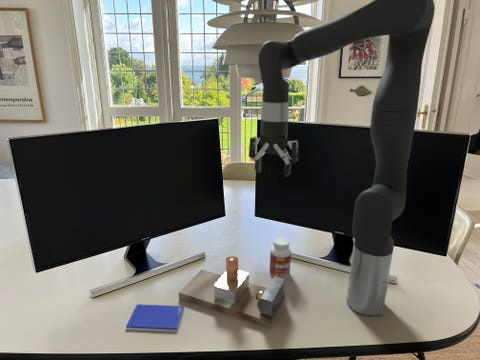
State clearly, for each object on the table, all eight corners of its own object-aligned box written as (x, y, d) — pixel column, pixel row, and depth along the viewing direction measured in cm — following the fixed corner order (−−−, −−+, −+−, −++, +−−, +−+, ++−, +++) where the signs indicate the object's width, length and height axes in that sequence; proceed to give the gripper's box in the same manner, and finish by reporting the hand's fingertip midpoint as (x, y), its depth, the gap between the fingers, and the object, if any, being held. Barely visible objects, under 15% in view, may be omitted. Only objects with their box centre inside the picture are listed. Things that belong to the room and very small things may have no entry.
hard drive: (184, 305, 88) (137, 303, 89) (177, 328, 80) (125, 326, 81) (184, 310, 89) (137, 308, 89) (177, 333, 81) (126, 331, 81)
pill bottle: (273, 281, 100) (275, 247, 97) (266, 269, 106) (267, 237, 102) (293, 277, 102) (295, 244, 98) (284, 266, 108) (286, 235, 104)
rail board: (284, 299, 92) (285, 292, 92) (269, 328, 82) (270, 321, 81) (201, 275, 102) (201, 269, 102) (179, 298, 92) (178, 292, 91)
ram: (248, 285, 94) (249, 253, 91) (235, 304, 86) (235, 271, 83) (229, 279, 97) (229, 248, 93) (214, 298, 89) (213, 265, 86)
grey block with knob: (283, 295, 91) (284, 279, 89) (271, 318, 82) (272, 301, 81) (262, 289, 93) (263, 273, 92) (248, 311, 85) (249, 294, 83)
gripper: (303, 118, 95) (299, 173, 100) (255, 115, 101) (254, 167, 106) (296, 122, 89) (292, 181, 94) (245, 118, 94) (244, 174, 99)
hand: (272, 174), depth 100 cm, fingers open, 8 cm apart
